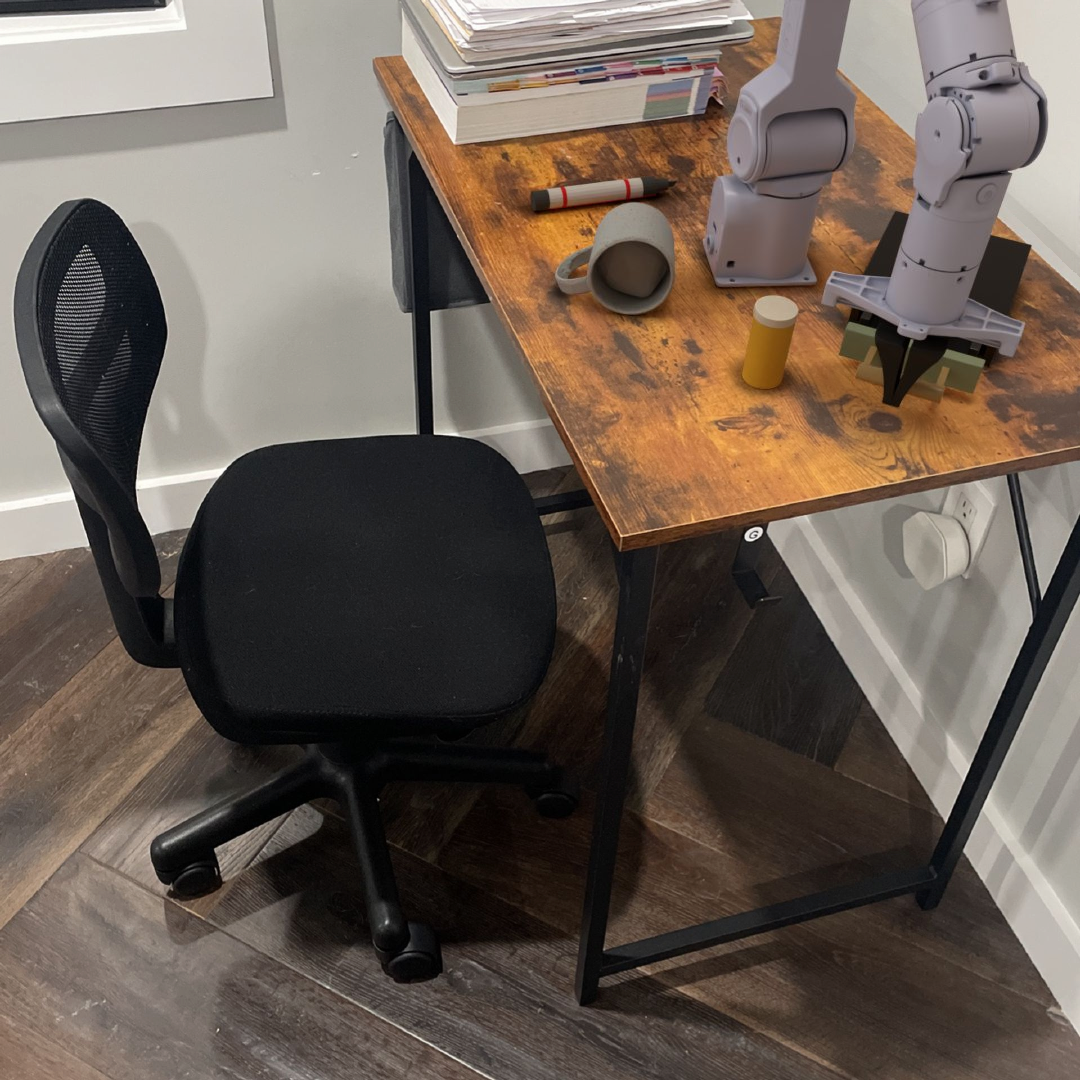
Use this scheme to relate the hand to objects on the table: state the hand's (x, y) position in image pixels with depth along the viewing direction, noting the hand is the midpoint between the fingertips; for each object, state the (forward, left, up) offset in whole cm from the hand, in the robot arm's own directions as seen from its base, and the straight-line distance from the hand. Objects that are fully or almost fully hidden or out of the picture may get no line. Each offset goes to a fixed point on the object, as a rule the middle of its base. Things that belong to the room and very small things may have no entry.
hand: (893, 398), depth 91 cm
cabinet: (+9, +15, -2) cm, 18 cm away
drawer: (+5, +8, -1) cm, 10 cm away
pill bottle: (-9, +6, -2) cm, 11 cm away
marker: (-19, +35, -2) cm, 40 cm away
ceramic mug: (-20, +19, -2) cm, 28 cm away
